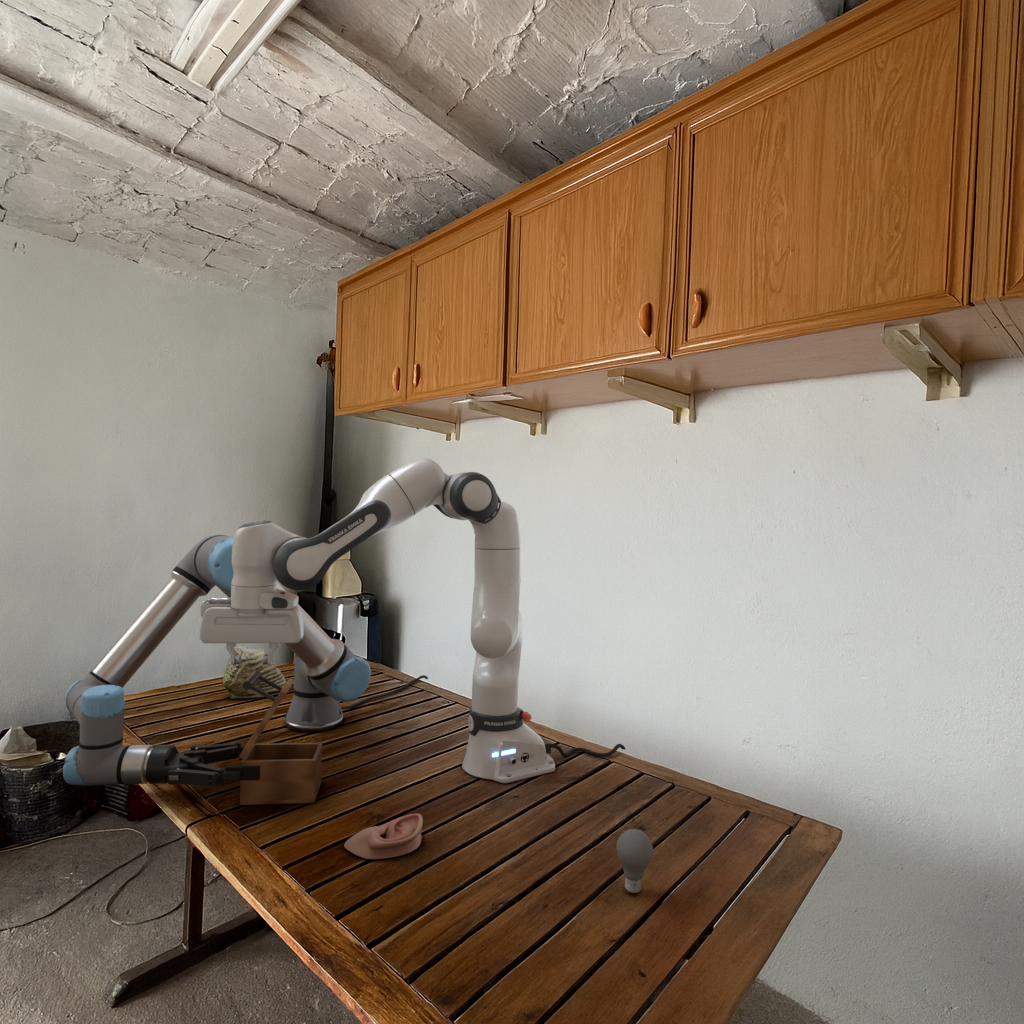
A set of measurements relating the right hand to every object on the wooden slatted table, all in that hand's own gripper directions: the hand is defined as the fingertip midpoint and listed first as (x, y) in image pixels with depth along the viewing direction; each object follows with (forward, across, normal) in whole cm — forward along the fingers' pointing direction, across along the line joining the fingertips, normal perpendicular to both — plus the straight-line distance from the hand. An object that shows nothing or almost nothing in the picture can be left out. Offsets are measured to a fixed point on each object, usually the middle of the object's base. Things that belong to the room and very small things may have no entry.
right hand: (252, 663), depth 133 cm
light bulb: (+29, +71, -39) cm, 86 cm away
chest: (+28, +7, 0) cm, 28 cm away
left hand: (+21, +3, 0) cm, 21 cm away
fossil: (+27, -15, +68) cm, 74 cm away
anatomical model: (+28, +29, -21) cm, 46 cm away
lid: (+12, +4, 0) cm, 12 cm away
